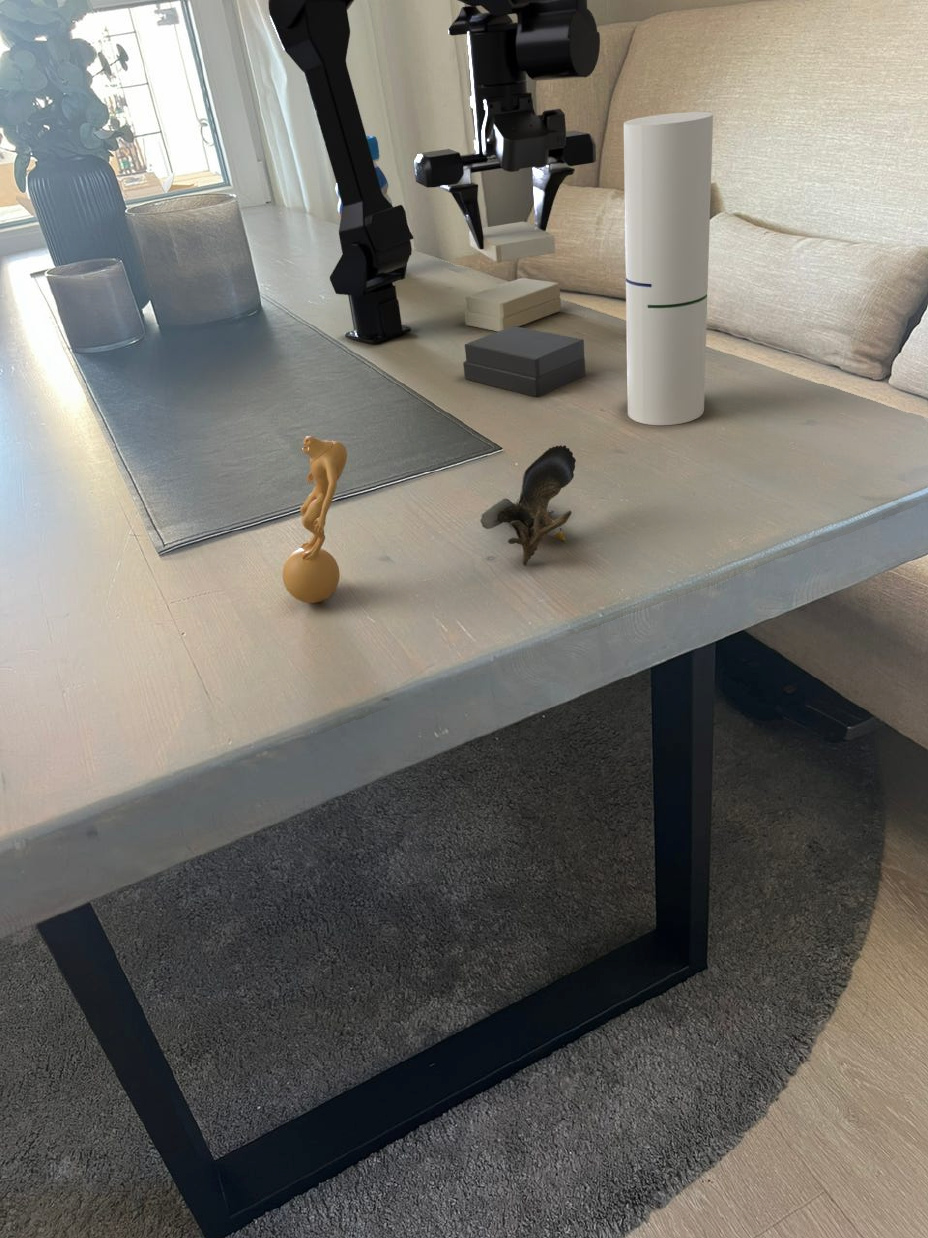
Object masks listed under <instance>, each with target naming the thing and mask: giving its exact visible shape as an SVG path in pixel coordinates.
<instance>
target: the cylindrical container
mask: <svg viewBox="0 0 928 1238" xmlns="http://www.w3.org/2000/svg"><path fill="white" fill-rule="evenodd" d="M713 127H714V114H713V113H712V112H708V111H707V112H706V111H689V112H688V111H687V112H673V113H664V114H663V113H662V114H655V115H648V116H642V117H637V118H632V119H629V120H625V121H624V122H623V176H624V177H623V181H624V185H623V187H624V188H623V189H624V246H625V247H624V249H625V255H624V256H625V315H626V316H625V317H626V318H625V319H626V321H625V322H626V323H625V324H626V328H625V329H626V383H627V385H626V388H627V416H628V417H629V418H630V419H631V420H633V421H634V422H636V423H640V424H644V425H650V426H673V425H674V426H675V425H681V424H685V423H690V422H692V421H695V420H696V419H698V418H699V417H701V416H702V415H703V414H704V411H705V387H706V386H705V385H706V358H707V357H706V354H707V352H706V351H707V324H708V323H707V319H708V316H707V315H708V293H709V290H708V289H709V286H708V285H709V259H710V258H709V257H710V256H709V255H710V230H711V229H710V225H711V224H710V223H711V198H712V197H711V196H712V194H711V193H712V166H713V165H712V164H713V163H712V161H713V132H714V131H713V130H714V129H713Z"/></svg>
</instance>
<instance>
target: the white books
mask: <svg viewBox="0 0 928 1238" xmlns="http://www.w3.org/2000/svg"><path fill="white" fill-rule="evenodd" d="M561 299H562V298H561V284H560V283H559V282H553V281H546V280H539V279H532V278H527V277H526V278H525V277H519V278H516V279H514V280H511V281H508V282H505V283H503V284H499V285H497V286H493V287H491V288H487V289H484V290H482V291H478V292H476V293H472V294H470V295H467V296H465V303H466V310H464V318H465V325H466V326H469V327H474V328H480V329H484V330H489V331H494V332H498V331H501V330H504V329H506V328H509V327H512V326H516V327H521V326H524V325H527V324H530V323H531V322H535V321H537V320H540V319H543V318H545V317H548V316H551V315H553V314H556V313H559V312H561V311H562V304H561V303H562V300H561Z"/></svg>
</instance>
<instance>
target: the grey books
mask: <svg viewBox="0 0 928 1238" xmlns="http://www.w3.org/2000/svg"><path fill="white" fill-rule="evenodd" d="M464 351H465V361H463V362H462V364H463V374H464V379H465V380H468V381H473V382H476V383H480V384H484V385H487V386H491V387H494V388H500V389H504V390H507V391H511V392H516V393H519V394H523V395H527V396H531V397H534V398H538V397H540V396H541V397H542V395H546V394H547V393H549V392H552V391H554V390H556V389H559V388H561V387H563V386H566V385H567V384H570V383H573V382H575V381H577V380H579V379H582V378H584V377H586V359H585V340H584V338H579V337H574V336H568V335H563V334H557V333H552V332H547V331H543V330H542V331H541V330H537V329H532V328H526V327H521V326H519V327H516V326H512V327H509V328H506V329H504V330H501V331H495V332H494V333H493V332H492V333H491V334H488V335H485V336H483V337H480V338H478V339H475V340H472V341H469V342H467V343H464Z"/></svg>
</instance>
